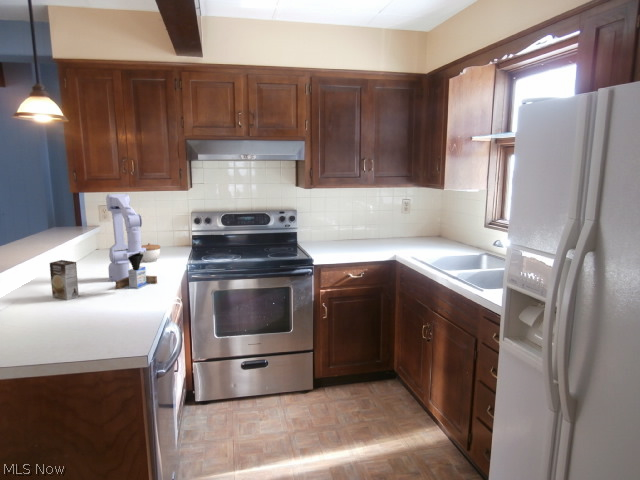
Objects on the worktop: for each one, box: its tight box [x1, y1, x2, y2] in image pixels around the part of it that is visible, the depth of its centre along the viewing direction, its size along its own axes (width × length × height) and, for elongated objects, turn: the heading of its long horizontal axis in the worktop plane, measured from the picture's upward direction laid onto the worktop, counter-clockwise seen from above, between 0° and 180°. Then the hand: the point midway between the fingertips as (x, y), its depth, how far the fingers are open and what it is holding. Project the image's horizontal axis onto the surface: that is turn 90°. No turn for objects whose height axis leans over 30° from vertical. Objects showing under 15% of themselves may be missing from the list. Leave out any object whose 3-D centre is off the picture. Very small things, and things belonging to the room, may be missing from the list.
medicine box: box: [128, 265, 147, 288], centre depth 211 cm, size 8×4×9 cm, turn 170°
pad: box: [124, 283, 151, 290], centre depth 212 cm, size 7×11×1 cm, turn 170°
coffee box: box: [49, 259, 80, 301], centre depth 191 cm, size 9×6×16 cm
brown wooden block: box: [115, 275, 158, 290], centre depth 211 cm, size 13×14×4 cm
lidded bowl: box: [140, 242, 161, 263], centre depth 264 cm, size 13×13×11 cm
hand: (136, 269), depth 201 cm, fingers closed
